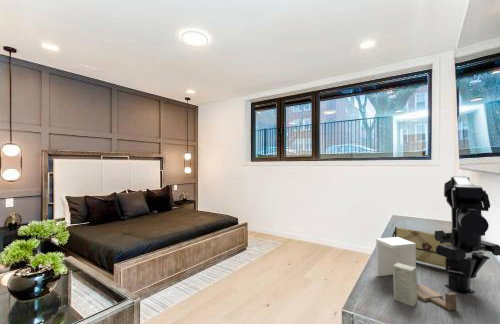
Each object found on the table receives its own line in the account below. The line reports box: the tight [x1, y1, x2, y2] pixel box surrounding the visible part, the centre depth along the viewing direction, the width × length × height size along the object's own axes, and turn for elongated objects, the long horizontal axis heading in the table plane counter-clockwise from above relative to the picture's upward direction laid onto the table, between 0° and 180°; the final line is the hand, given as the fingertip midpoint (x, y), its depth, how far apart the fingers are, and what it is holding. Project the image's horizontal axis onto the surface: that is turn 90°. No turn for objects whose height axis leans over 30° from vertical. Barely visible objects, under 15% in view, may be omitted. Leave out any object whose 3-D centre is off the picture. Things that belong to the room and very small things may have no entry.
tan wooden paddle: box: [417, 284, 457, 312], centre depth 87 cm, size 8×15×5 cm, turn 13°
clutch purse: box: [391, 226, 451, 273], centre depth 116 cm, size 30×7×15 cm, turn 41°
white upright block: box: [375, 236, 417, 277], centre depth 102 cm, size 11×9×16 cm
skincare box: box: [392, 262, 419, 307], centre depth 86 cm, size 6×4×12 cm
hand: (468, 278), depth 75 cm, fingers closed
